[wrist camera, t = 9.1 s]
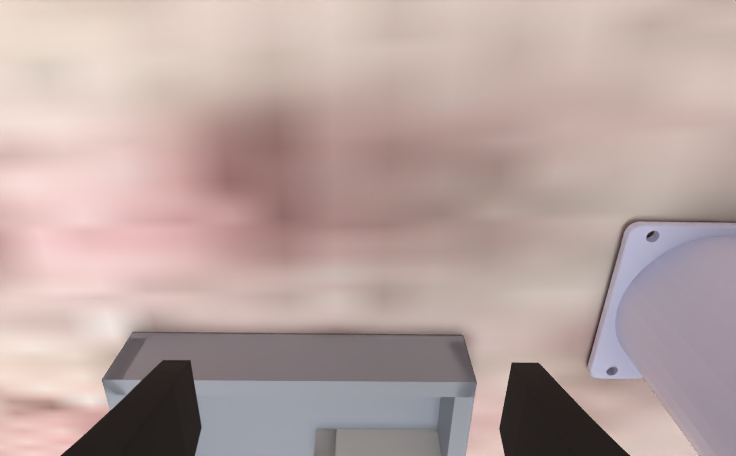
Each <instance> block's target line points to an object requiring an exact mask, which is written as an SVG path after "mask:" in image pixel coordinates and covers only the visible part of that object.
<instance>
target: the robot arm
mask: <svg viewBox="0 0 736 456" xmlns="http://www.w3.org/2000/svg"><path fill="white" fill-rule="evenodd" d="M651 231H654V234H653V235H652V236H651V237H649V238H646V236H647V234H648V233H650V232H651ZM610 367H613V368H611V369H608V368H610ZM607 369H608V370H607ZM588 370H589V372H590V374H591V376H592V377H594V378H598V379H644V380H645V381H646V382H647V384H648V385H649V387H650V388H651V389H652V391H653V392H654V393H655V395H656V396H657V398H658V399H659V400H660V402H661V403H662V405H663V406H664V407H665V409H666V410H667V412H668V413H669V414H670V416H671V417H672V418H673V420H674V421H675V423H676V424H677V425H678V427H679V428H680V430H681V431H682V432H683V434H684V435H685V437H686V438H687V439H688V441H689V442H690V444H691V445H692V446H693V448H694V449H695V450H696V452H697V453H698V455H699V456H736V223H709V222H634V223H632V224H630V225H629V226H628V227H627V228H626V230H625V232H624V235H623V239H622V243H621V246H620V250H619V253H618V257H617V261H616V264H615V268H614V272H613V275H612V279H611V283H610V286H609V290H608V294H607V297H606V301H605V305H604V308H603V312H602V316H601V319H600V323H599V327H598V330H597V334H596V338H595V341H594V345H593V348H592V352H591V356H590V359H589V363H588ZM201 428H202V426H201V420H200V414H199V408H198V402H197V396H196V390H195V384H194V378H193V372H192V366H191V360H162V361H161V362H160V363H159V364H158V365H157V366H156V367H155V368H154V369H153V370H152V371H151V372H150V373H149V374H148V375H147V376H146V377H145V378H143V379H142V380H141V381H140V382H139V383H138V384H137V385H136V386H135V387H134V388H133V389H132V390H131V391H130V392H129V393H128V394H127V395H126V396H125V397H124V398H123V399H122V400H121V401H120V402H119V403H118V404H117V405H116V406H115V407H114V408H113V409H112V410H111V411H109V412H108V413H107V414H106V415H105V416H104V417H103V418H102V419H101V420H100V421H99V422H98V423H97V424H96V425H94V426H93V427H92V428H91V429H90V430H89V431H88V432H87V433H86V434H85V435H84V436H83V437H81V438H80V439H79V440H78V441H77V442H76V443H75V444H74V445H72V446H71V447H70V448H69V449H68V450H67V451H65V452H64V453H63V454H62V455H61V456H195V453H196V449H197V445H198V441H199V437H200V433H201ZM499 429H500V434H501V439H502V444H503V449H504V454H505V456H630V455H629V454H628V453H627V452H626V451H625V450H623V449H622V448H621V447H620V446H619V445H618V444H617V443H616V442H615V441H614V440H613V439H612V438H611V437H610V436H609V435H608V434H607V433H606V432H605V431H604V430H603V429H602V428H601V427H600V426H599V425H598V424H597V423H596V422H595V421H594V420H593V419H592V418H591V417H590V416H589V415H588V414H587V413H586V412H585V411H584V410H583V409H582V408H581V407H580V406H579V405H578V404H577V403H576V402H575V401H574V400H573V399H572V397H571V396H570V395H569V394H568V393H567V392H566V391H565V390H564V389H563V388H562V387H561V386H560V385H559V384H558V383H557V382H556V381H555V379H554V378H553V377H552V376H551V375H550V374H549V373H548V372H547V371H546V370H545V369H544V368H543V367H542V366H541V365H540V364H539V363H512V365H511V370H510V375H509V381H508V386H507V391H506V397H505V402H504V407H503V412H502V418H501V423H500V428H499Z"/></svg>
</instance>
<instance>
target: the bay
mask: <svg viewBox="0 0 736 456" xmlns="http://www.w3.org/2000/svg"><path fill="white" fill-rule="evenodd" d="M162 360H191V366H192V372H193V378H194V384H195V390H196V396H197V402H198V408H199V414H200V420H201V426H202V428H201V433H200V437H199V441H198V445H197V449H196V453H195V456H466V449H467V443H468V436H469V429H470V423H471V416H472V410H473V403H474V397H475V390H476V384H477V382H476V378H475V375H474V371H473V368H472V365H471V361H470V358H469V354H468V351H467V347H466V344H465V341H464V337H463V336H450V335H339V334H228V333H132V334H131V336H130V337H129V339H128V340H127V342H126V343H125V345H124V346H123V348H122V350H121V351H120V353H119V354H118V356H117V357H116V359H115V360H114V362H113V363H112V365H111V366H110V368H109V369H108V371H107V373H106V374H105V376H104V377H103V379H102V382H103V386H104V390H105V393H106V397H107V401H108V404H109V408H110V411H111V410H112V409H113V408H114V407H115V406H116V405H117V404H118V403H119V402H120V401H121V400H122V399H123V398H124V397H125V396H126V395H127V394H128V393H129V392H130V391H131V390H132V389H133V388H134V387H135V386H136V385H137V384H138V383H139V382H140V381H141V380H142V379H143V378H145V377H146V376H147V375H148V374H149V373H150V372H151V371H152V370H153V369H154V368H155V367H156V366H157V365H158V364H159V363H160V362H161V361H162Z"/></svg>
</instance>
